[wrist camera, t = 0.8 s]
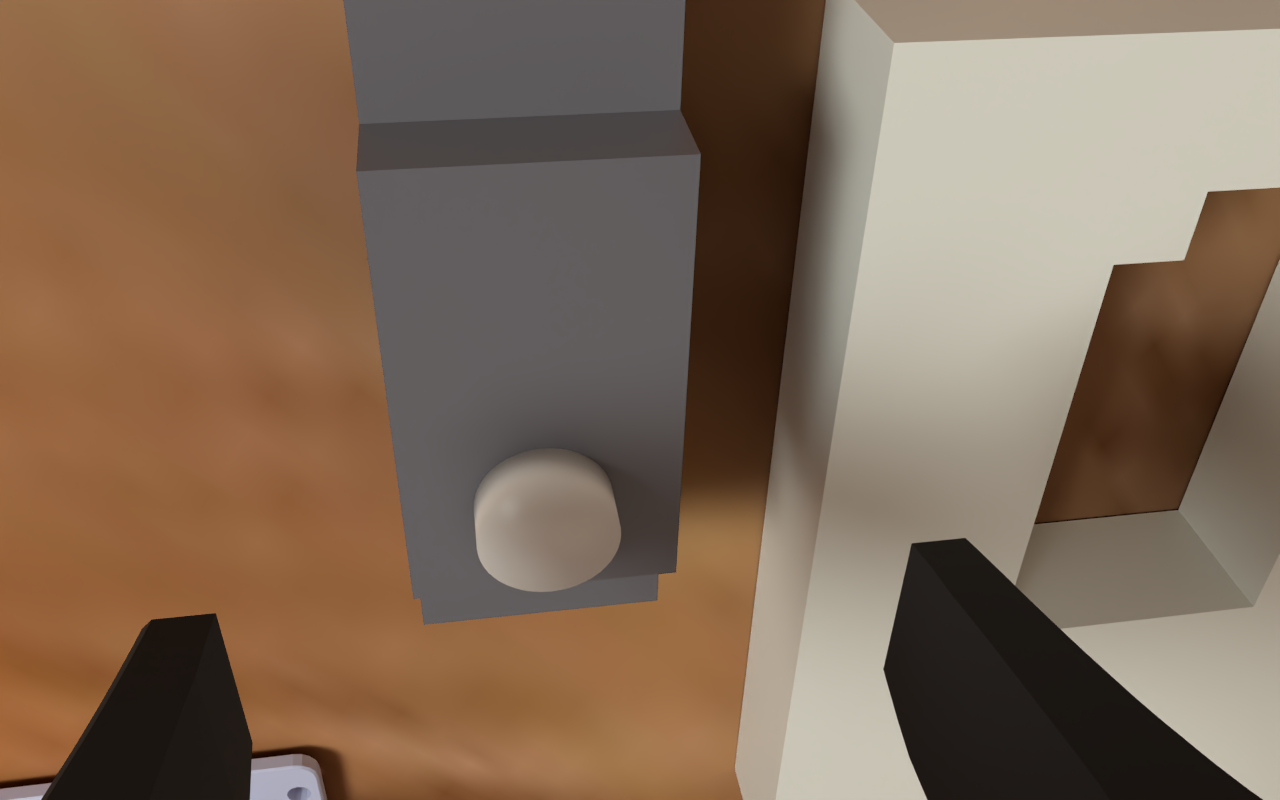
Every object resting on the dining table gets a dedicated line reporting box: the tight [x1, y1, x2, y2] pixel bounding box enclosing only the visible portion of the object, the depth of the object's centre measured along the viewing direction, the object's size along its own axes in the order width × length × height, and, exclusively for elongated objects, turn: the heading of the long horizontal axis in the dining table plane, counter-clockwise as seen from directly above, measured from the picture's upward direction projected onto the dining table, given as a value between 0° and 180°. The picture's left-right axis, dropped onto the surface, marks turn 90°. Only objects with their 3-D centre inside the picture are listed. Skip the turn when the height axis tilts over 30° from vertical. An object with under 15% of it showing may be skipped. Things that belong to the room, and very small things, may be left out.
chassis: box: [735, 0, 1280, 800], centre depth 24 cm, size 20×14×3 cm
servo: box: [343, 0, 701, 625], centre depth 17 cm, size 11×4×6 cm, turn 179°
